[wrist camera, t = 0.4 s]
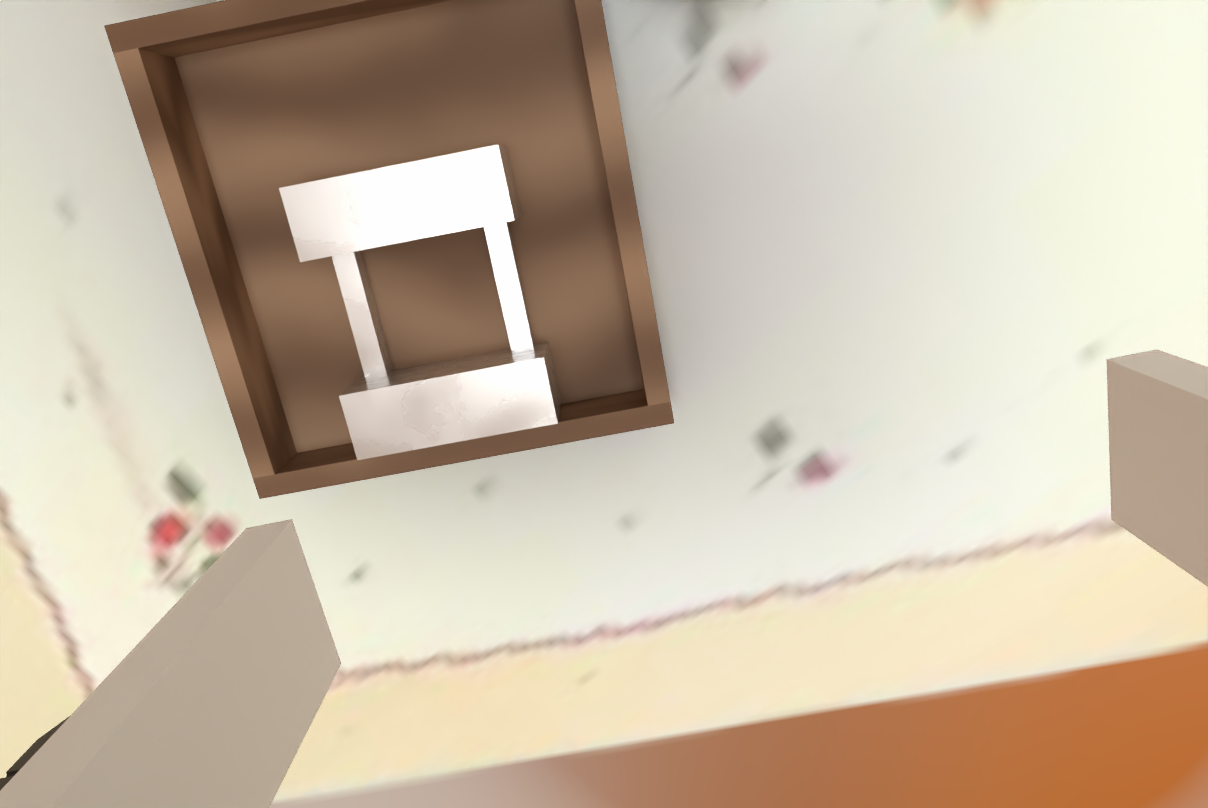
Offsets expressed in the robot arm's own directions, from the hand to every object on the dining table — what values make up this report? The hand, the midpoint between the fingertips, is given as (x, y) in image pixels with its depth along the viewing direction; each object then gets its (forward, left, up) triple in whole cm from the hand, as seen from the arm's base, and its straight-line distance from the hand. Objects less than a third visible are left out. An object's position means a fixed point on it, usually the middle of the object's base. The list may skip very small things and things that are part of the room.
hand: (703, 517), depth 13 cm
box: (-4, -9, -26) cm, 28 cm away
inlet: (-1, -9, -26) cm, 28 cm away
